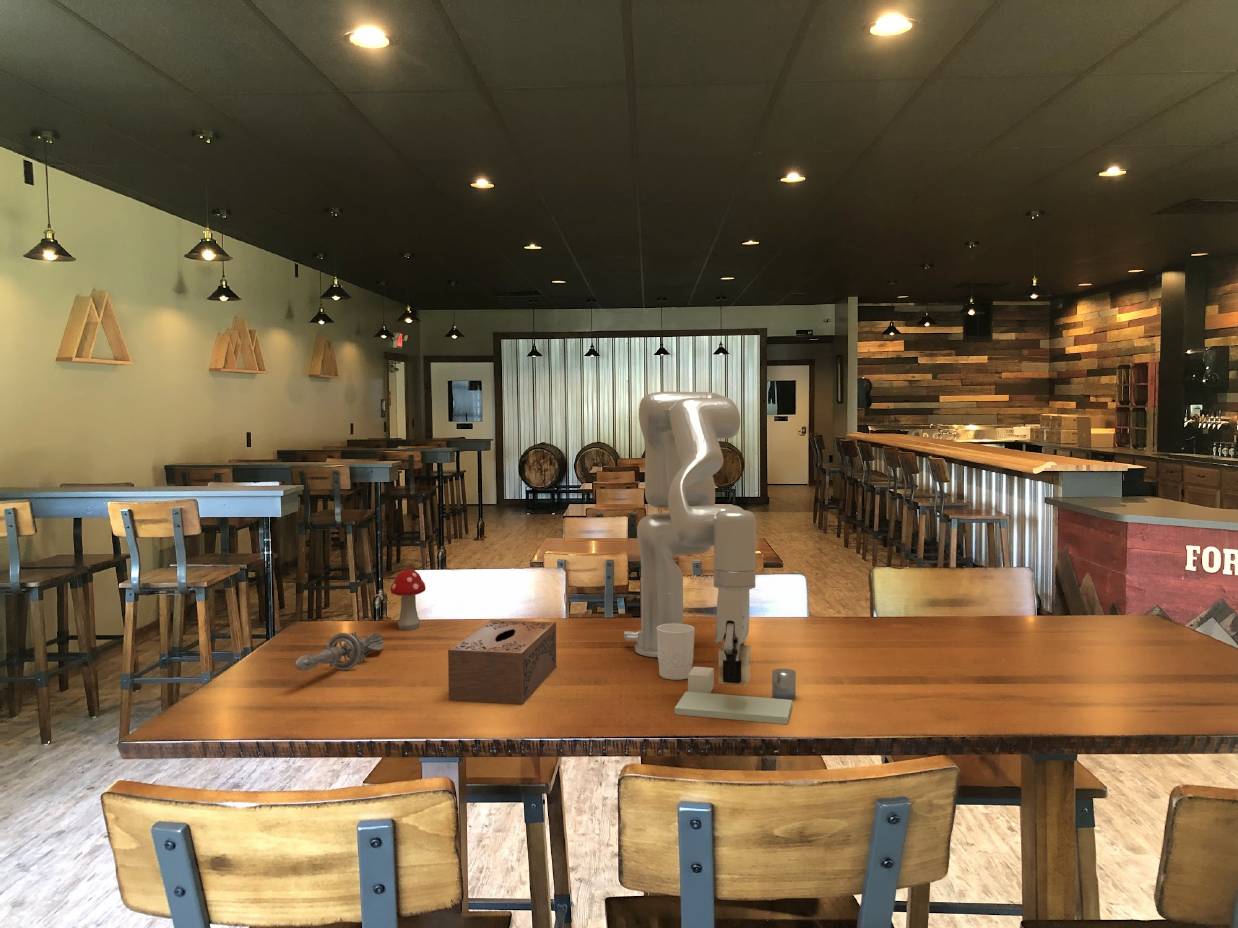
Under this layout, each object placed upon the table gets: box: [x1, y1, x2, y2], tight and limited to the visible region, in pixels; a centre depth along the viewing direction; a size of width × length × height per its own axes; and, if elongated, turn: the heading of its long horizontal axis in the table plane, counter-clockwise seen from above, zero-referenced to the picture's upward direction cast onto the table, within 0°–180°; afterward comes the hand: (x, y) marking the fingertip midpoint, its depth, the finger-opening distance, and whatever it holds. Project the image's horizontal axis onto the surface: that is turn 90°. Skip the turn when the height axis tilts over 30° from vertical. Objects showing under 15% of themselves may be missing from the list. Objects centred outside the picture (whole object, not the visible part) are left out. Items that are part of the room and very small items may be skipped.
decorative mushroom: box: [390, 568, 426, 631], centre depth 227 cm, size 10×9×15 cm
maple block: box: [718, 643, 751, 686], centre depth 161 cm, size 5×5×6 cm
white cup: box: [657, 623, 695, 681], centre depth 184 cm, size 8×8×10 cm
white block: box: [687, 666, 715, 693], centre depth 174 cm, size 4×6×4 cm, turn 164°
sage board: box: [674, 690, 793, 725], centre depth 162 cm, size 20×10×1 cm, turn 74°
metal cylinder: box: [771, 668, 797, 702], centre depth 169 cm, size 4×4×5 cm
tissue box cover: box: [447, 619, 557, 706], centre depth 179 cm, size 26×14×10 cm, turn 170°
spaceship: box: [294, 631, 385, 671], centre depth 189 cm, size 8×35×8 cm
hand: (734, 676), depth 161 cm, fingers closed on maple block, 4 cm apart
